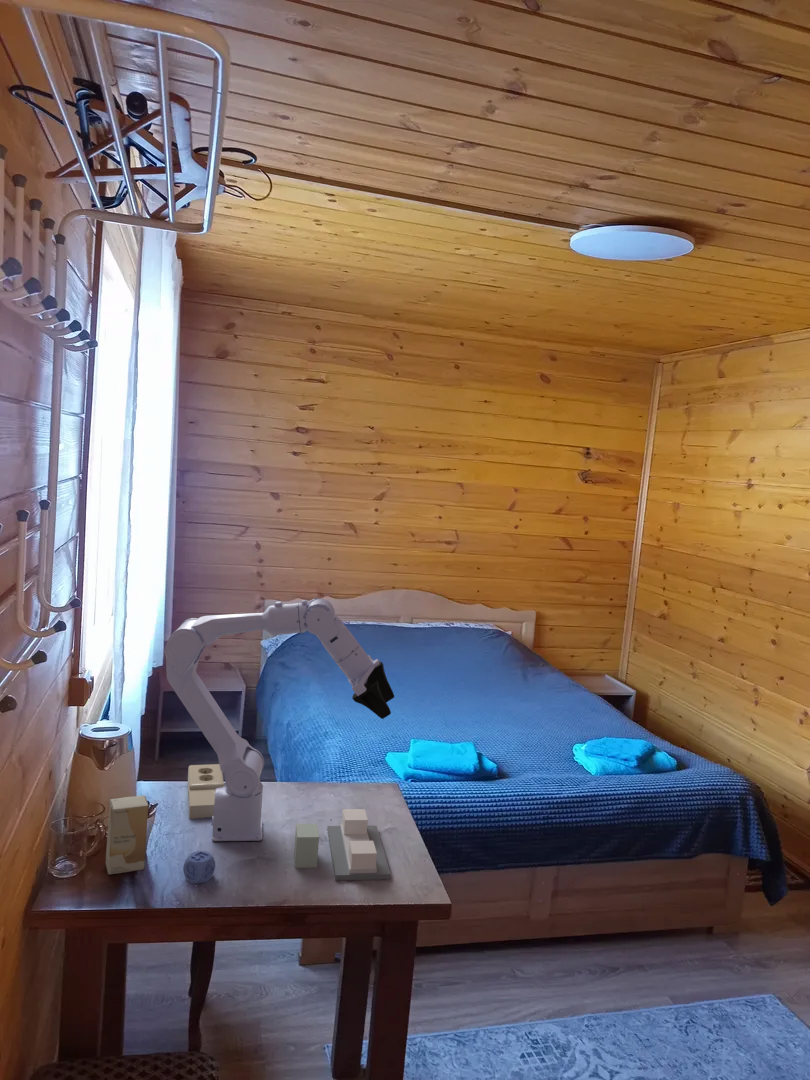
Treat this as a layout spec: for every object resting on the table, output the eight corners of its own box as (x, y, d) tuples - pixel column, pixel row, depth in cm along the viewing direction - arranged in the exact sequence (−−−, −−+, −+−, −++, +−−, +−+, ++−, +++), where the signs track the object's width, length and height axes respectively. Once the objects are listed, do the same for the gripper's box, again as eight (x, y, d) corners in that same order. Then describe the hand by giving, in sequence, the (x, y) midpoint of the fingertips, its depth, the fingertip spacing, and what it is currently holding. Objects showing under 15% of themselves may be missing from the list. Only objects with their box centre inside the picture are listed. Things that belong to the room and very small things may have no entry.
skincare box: (108, 876, 137) (110, 809, 135) (105, 863, 140) (107, 798, 139) (146, 869, 140) (149, 804, 138) (142, 857, 143) (145, 793, 142)
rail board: (335, 880, 141) (337, 855, 140) (327, 830, 159) (329, 808, 158) (389, 879, 143) (392, 854, 142) (376, 830, 160) (377, 807, 160)
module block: (295, 868, 144) (297, 837, 143) (294, 853, 149) (296, 823, 148) (316, 867, 145) (319, 837, 144) (315, 853, 150) (317, 823, 149)
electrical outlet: (190, 801, 158) (188, 764, 175) (189, 820, 159) (187, 781, 176) (226, 799, 160) (221, 763, 177) (225, 818, 161) (220, 780, 178)
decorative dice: (215, 875, 140) (216, 854, 139) (200, 886, 136) (201, 864, 135) (197, 869, 141) (198, 848, 141) (182, 879, 137) (183, 858, 137)
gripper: (359, 655, 144) (402, 712, 146) (368, 629, 158) (407, 682, 160) (328, 675, 145) (371, 732, 147) (340, 648, 159) (379, 700, 161)
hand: (388, 707), depth 154 cm, fingers open, 7 cm apart
